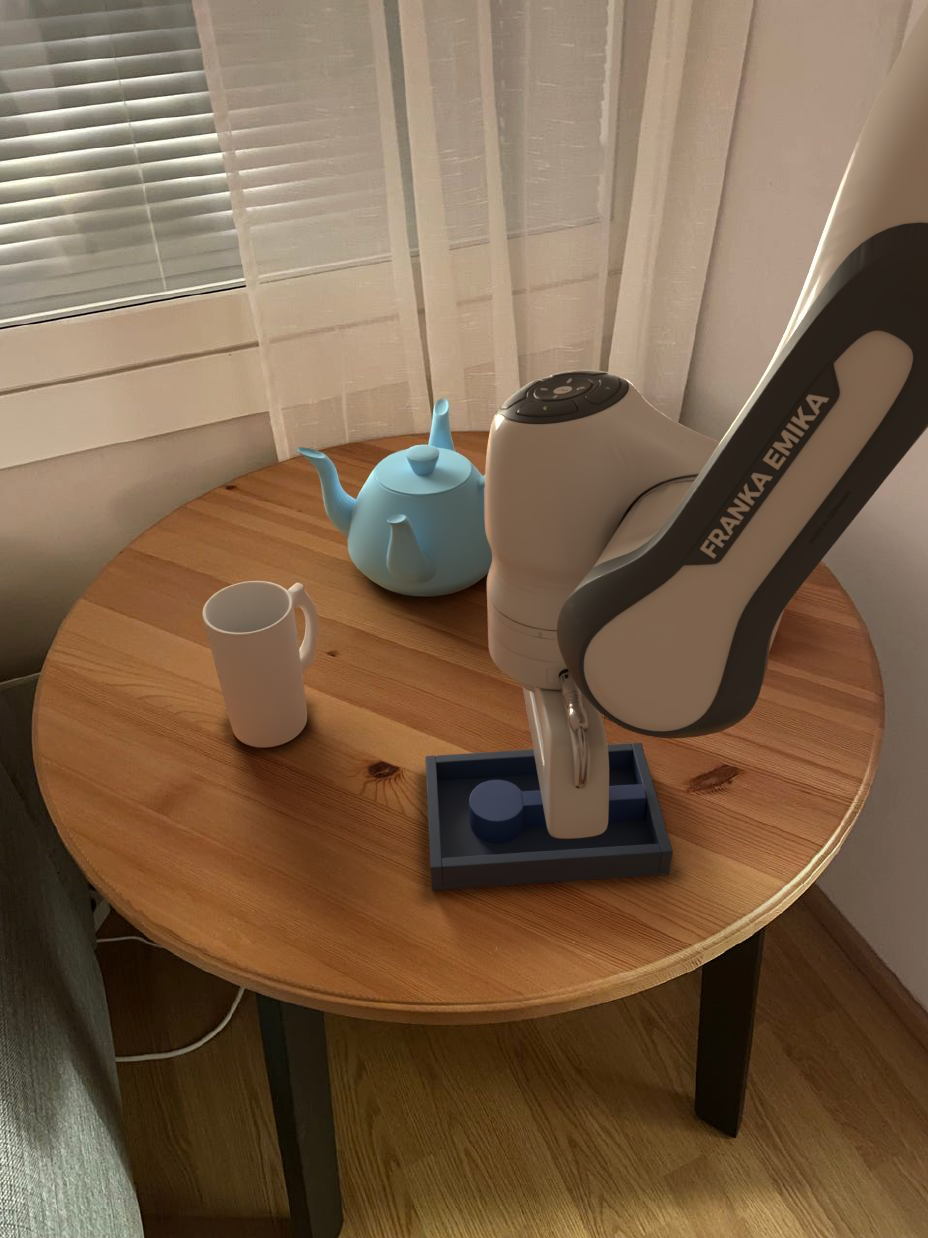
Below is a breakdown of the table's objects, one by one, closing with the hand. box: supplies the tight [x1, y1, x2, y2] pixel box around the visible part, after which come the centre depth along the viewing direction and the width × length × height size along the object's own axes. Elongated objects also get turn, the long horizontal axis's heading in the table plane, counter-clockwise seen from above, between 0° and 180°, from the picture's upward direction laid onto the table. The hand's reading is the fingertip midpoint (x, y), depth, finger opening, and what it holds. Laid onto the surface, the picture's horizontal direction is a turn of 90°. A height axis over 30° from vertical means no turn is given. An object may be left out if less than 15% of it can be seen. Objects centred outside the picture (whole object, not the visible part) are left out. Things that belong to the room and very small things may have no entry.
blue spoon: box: [469, 780, 646, 843], centre depth 73 cm, size 13×4×2 cm, turn 93°
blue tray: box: [424, 742, 673, 892], centre depth 73 cm, size 17×11×2 cm, turn 94°
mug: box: [201, 580, 319, 748], centre depth 81 cm, size 10×7×12 cm, turn 143°
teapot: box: [296, 398, 492, 598], centre depth 98 cm, size 17×19×12 cm
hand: (554, 778), depth 71 cm, fingers open, 8 cm apart
